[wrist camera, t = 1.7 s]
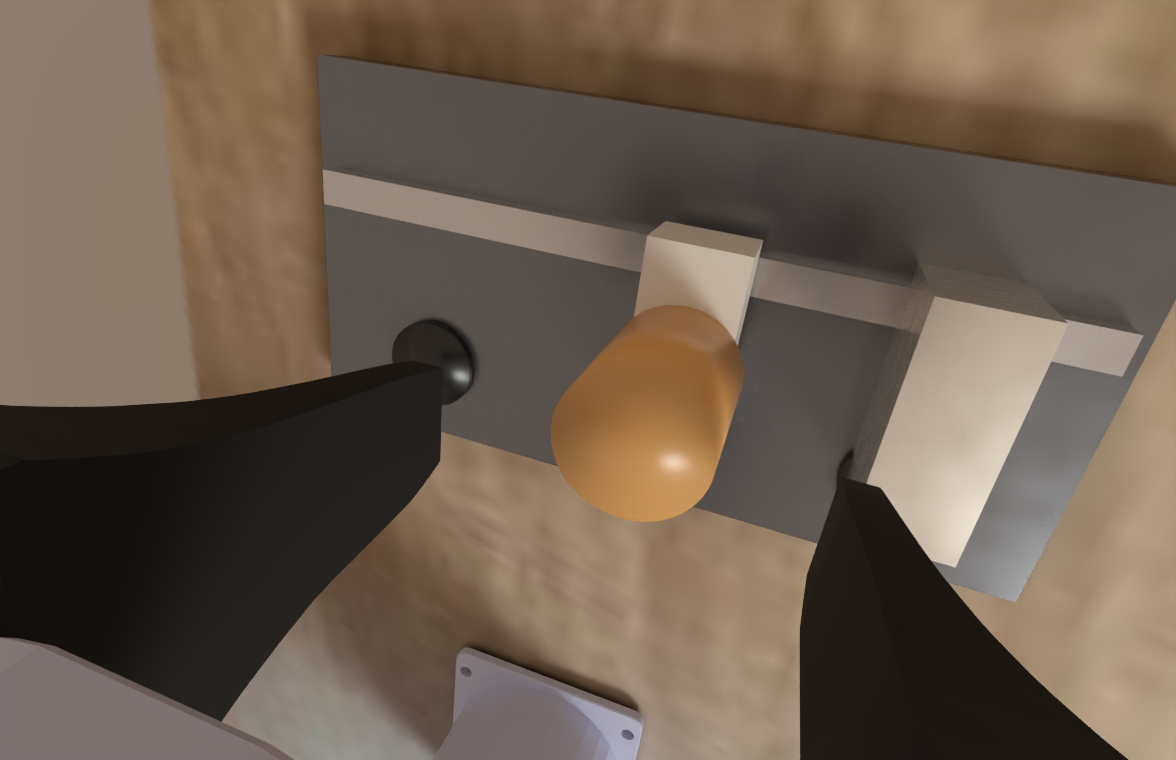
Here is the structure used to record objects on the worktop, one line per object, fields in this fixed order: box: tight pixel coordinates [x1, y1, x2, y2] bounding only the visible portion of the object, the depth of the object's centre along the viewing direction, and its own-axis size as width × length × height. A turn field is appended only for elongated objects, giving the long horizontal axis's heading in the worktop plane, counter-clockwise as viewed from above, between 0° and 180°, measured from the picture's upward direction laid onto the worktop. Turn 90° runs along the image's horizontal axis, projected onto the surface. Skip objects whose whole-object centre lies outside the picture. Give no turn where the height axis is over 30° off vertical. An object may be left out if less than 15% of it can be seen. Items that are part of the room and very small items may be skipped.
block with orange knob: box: [551, 221, 763, 522], centre depth 15 cm, size 7×3×6 cm, turn 173°
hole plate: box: [317, 54, 1176, 602], centre depth 18 cm, size 11×22×4 cm, turn 83°
